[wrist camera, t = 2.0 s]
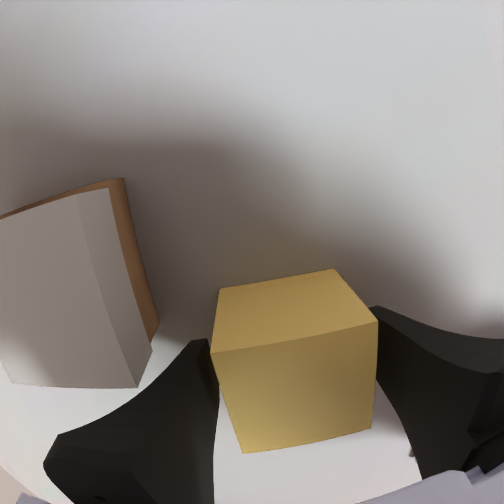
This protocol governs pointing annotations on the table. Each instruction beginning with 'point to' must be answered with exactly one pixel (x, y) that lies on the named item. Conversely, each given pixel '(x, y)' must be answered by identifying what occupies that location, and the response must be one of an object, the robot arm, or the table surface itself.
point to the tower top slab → (69, 298)
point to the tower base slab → (127, 246)
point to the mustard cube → (295, 360)
